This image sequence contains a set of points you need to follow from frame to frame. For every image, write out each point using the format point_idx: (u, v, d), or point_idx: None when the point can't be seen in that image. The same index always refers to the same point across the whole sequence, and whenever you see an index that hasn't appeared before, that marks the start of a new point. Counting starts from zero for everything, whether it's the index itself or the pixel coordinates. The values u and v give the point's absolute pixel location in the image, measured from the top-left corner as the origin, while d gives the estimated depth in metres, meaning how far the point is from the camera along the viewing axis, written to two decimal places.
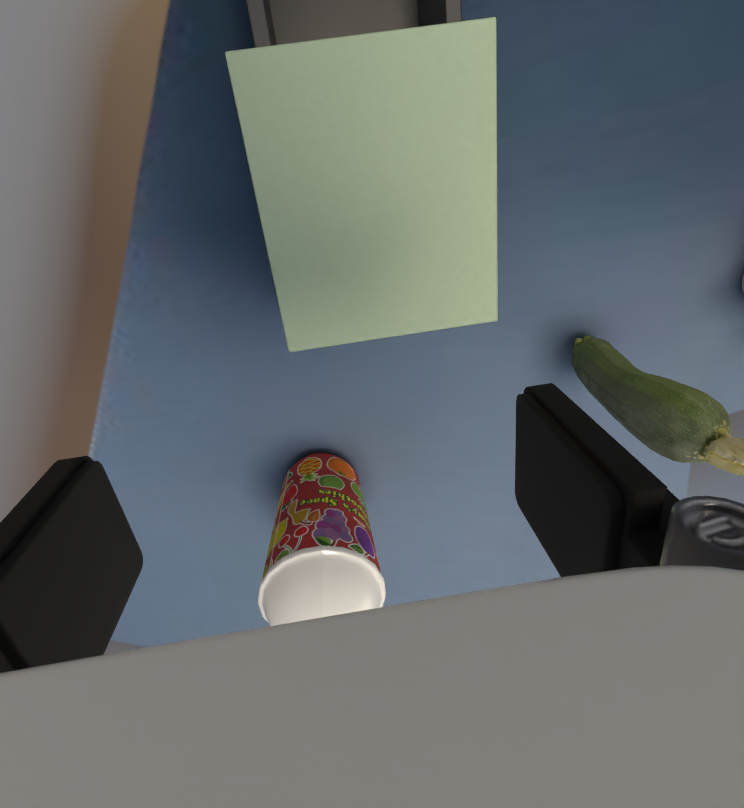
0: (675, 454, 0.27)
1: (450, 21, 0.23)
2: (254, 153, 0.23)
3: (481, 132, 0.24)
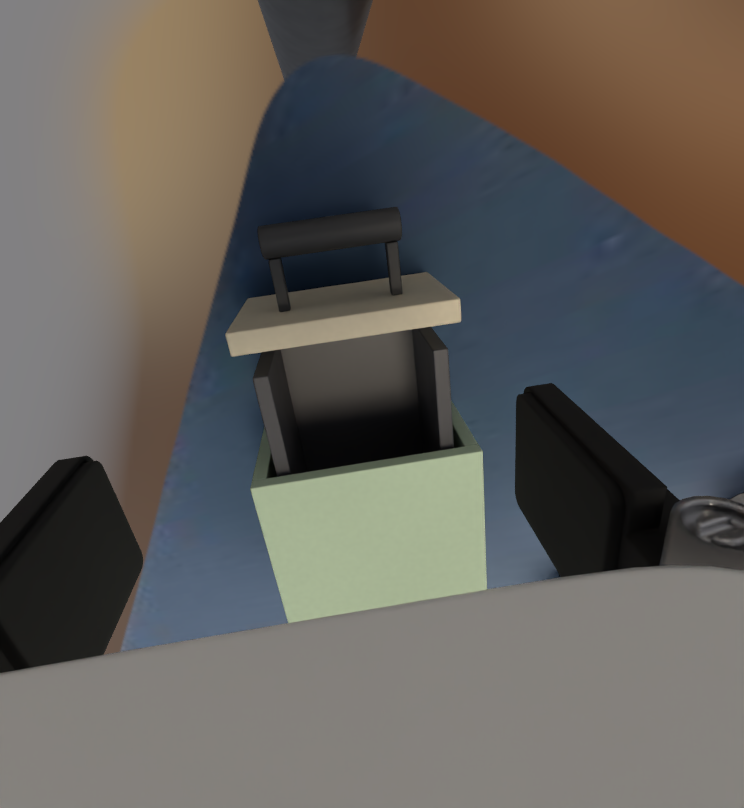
0: None
1: (443, 442, 0.27)
2: (274, 548, 0.27)
3: (471, 521, 0.28)
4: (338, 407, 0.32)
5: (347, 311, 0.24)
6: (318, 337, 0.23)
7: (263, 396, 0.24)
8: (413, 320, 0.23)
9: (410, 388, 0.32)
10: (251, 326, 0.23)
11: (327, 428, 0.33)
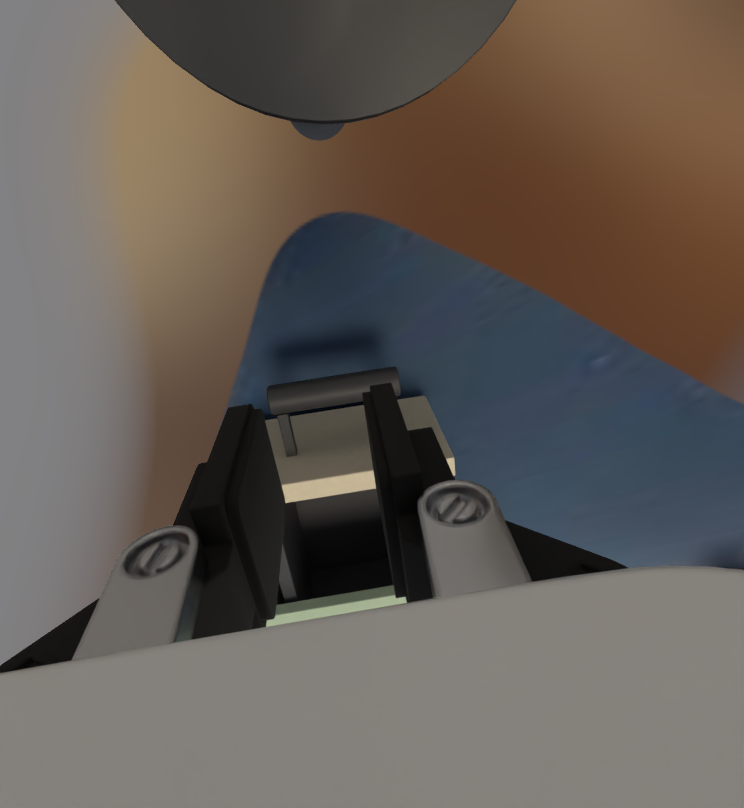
0: None
1: None
2: None
3: None
4: (341, 514, 0.34)
5: (350, 465, 0.25)
6: (323, 492, 0.25)
7: None
8: None
9: None
10: None
11: (330, 531, 0.35)
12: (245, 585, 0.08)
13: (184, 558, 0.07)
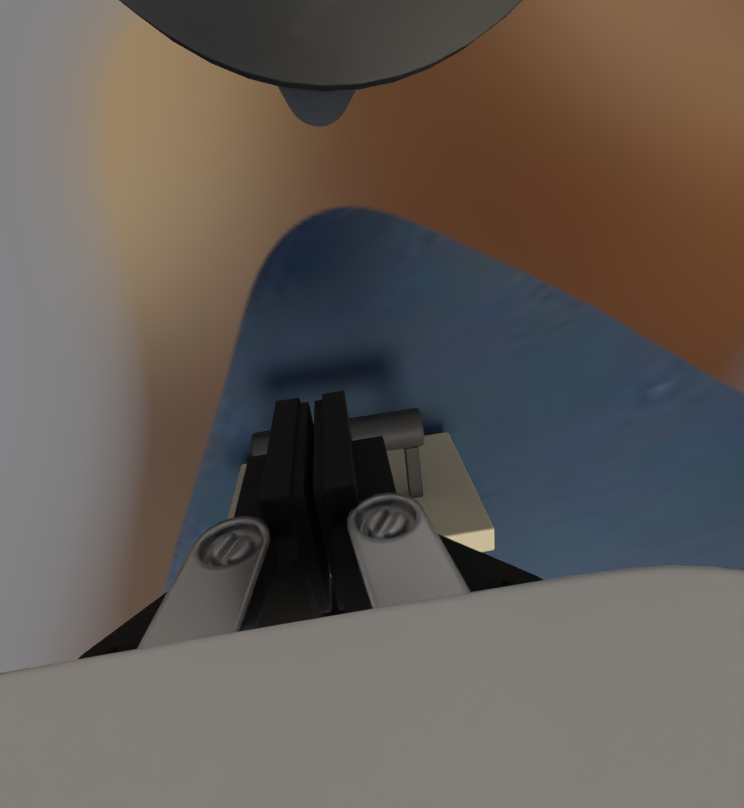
0: None
1: None
2: None
3: None
4: None
5: None
6: None
7: None
8: None
9: None
10: None
11: (332, 589, 0.29)
12: (308, 577, 0.08)
13: (259, 548, 0.07)
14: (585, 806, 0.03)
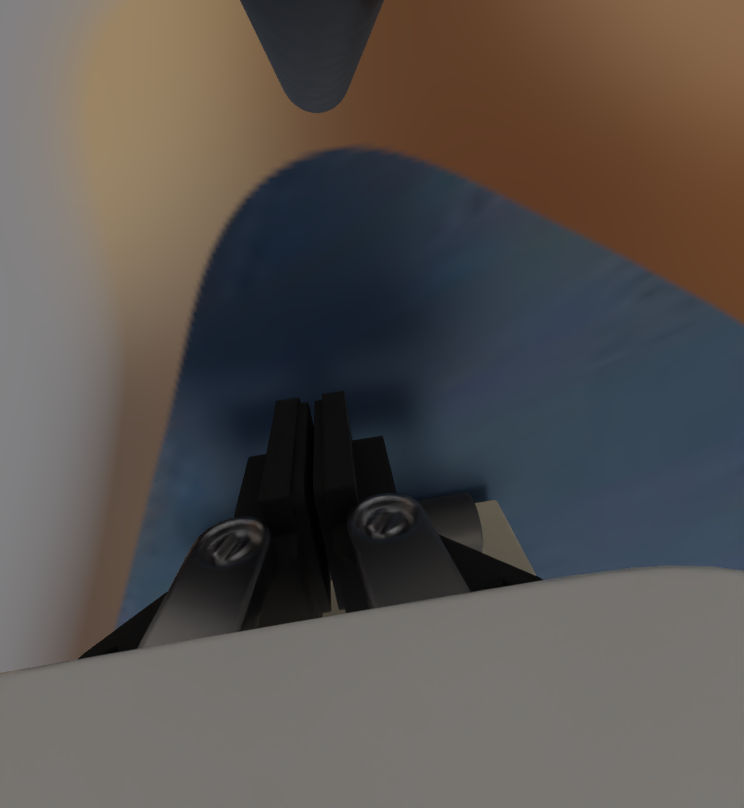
0: None
1: None
2: None
3: None
4: None
5: None
6: None
7: None
8: None
9: None
10: None
11: None
12: (308, 577, 0.08)
13: (259, 548, 0.07)
14: (585, 806, 0.03)
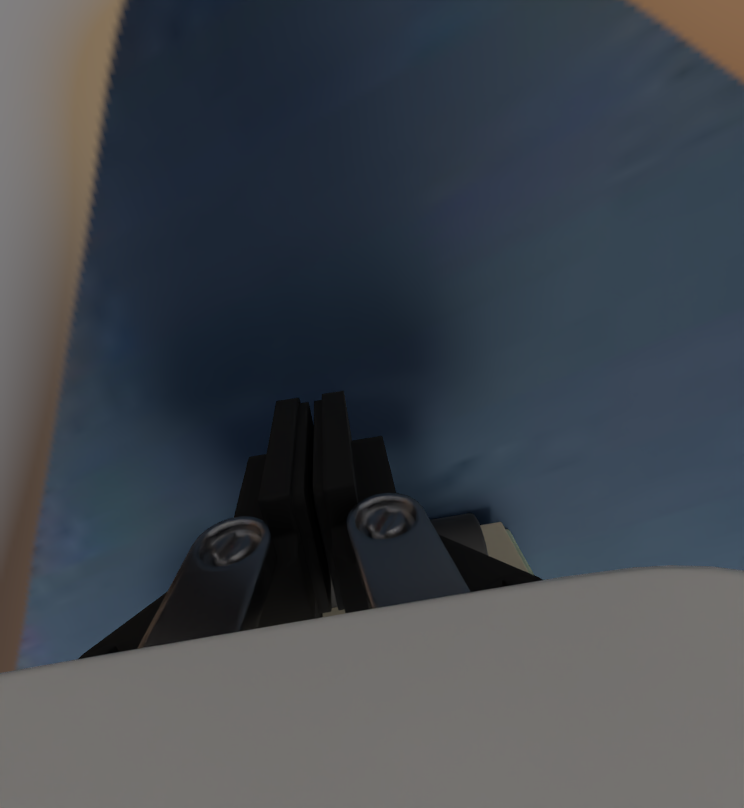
0: None
1: None
2: None
3: None
4: None
5: None
6: None
7: None
8: None
9: None
10: None
11: None
12: (308, 577, 0.08)
13: (259, 548, 0.07)
14: (585, 806, 0.03)
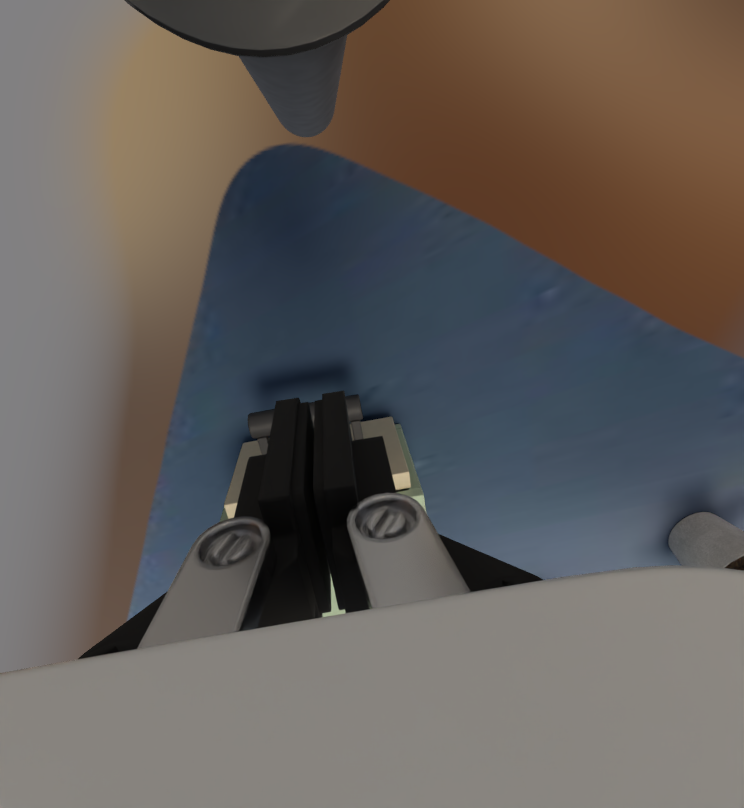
0: None
1: None
2: None
3: None
4: None
5: None
6: None
7: None
8: None
9: None
10: None
11: None
12: (308, 577, 0.08)
13: (259, 548, 0.07)
14: (585, 806, 0.03)
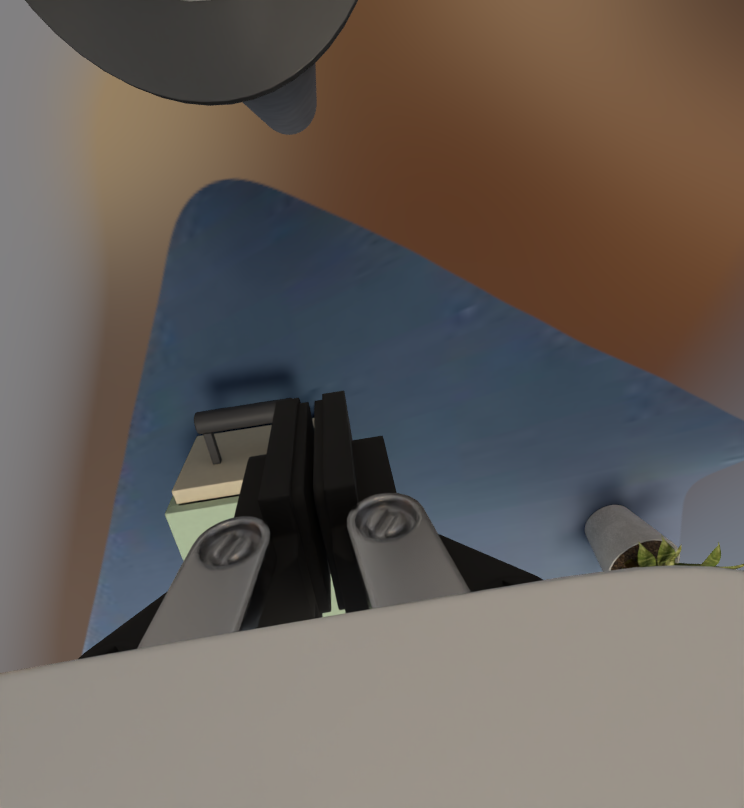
0: None
1: None
2: None
3: None
4: None
5: None
6: (235, 491, 0.34)
7: None
8: None
9: None
10: (190, 483, 0.34)
11: None
12: (308, 577, 0.08)
13: (259, 548, 0.07)
14: (585, 806, 0.03)
